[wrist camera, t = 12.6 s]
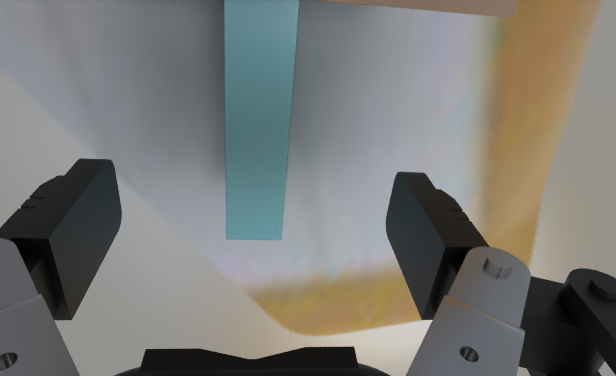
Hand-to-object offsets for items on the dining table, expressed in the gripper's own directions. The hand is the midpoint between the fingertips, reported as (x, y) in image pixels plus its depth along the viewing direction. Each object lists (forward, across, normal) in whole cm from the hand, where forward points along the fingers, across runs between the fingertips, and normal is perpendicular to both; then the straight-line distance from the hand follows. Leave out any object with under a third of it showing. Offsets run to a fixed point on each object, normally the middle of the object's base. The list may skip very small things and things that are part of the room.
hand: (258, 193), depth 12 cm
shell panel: (+11, 0, -2) cm, 11 cm away
